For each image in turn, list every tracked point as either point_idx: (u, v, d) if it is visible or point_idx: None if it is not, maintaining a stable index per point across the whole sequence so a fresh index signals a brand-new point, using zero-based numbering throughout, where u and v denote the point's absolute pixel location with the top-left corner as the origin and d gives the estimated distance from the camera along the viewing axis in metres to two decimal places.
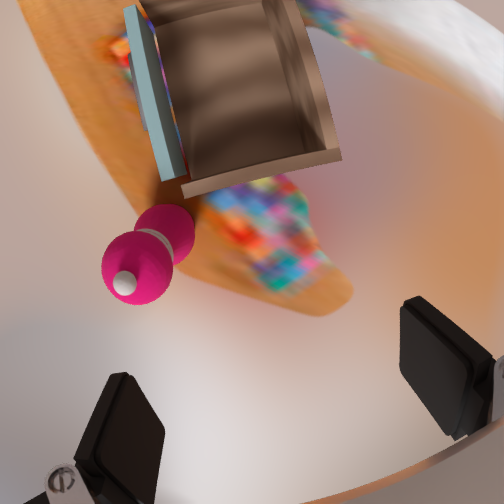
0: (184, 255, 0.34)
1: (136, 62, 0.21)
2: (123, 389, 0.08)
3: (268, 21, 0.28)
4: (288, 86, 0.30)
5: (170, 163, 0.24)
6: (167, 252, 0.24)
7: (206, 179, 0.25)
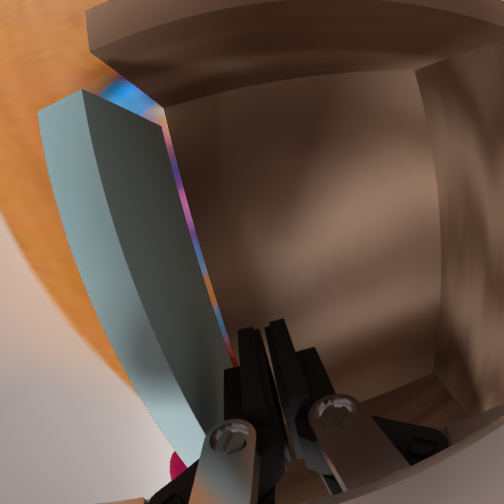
0: None
1: (141, 380, 0.07)
2: (260, 340, 0.09)
3: (431, 126, 0.13)
4: (444, 279, 0.15)
5: None
6: None
7: None
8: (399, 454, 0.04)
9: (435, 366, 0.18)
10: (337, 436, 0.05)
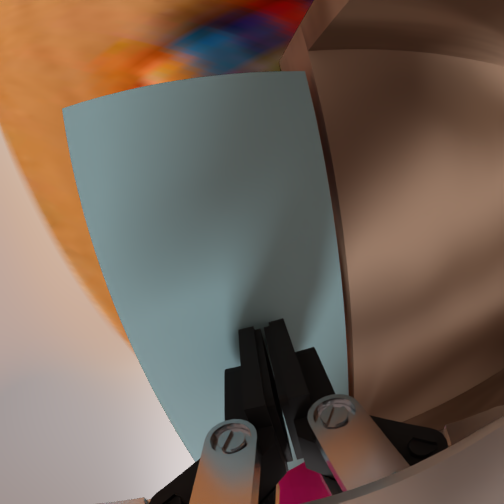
0: None
1: None
2: (261, 340, 0.09)
3: None
4: None
5: None
6: None
7: None
8: (398, 454, 0.04)
9: None
10: (336, 436, 0.05)
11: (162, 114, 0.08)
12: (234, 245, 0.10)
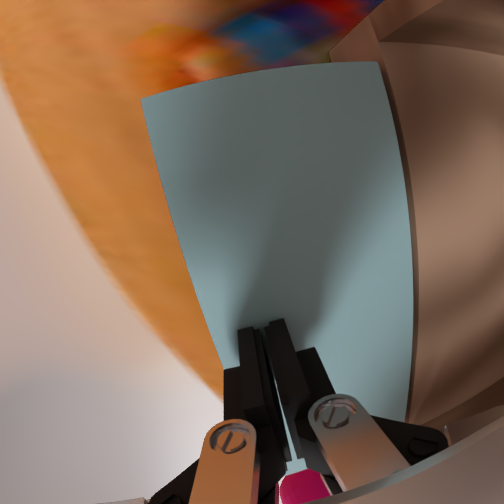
0: None
1: None
2: (260, 340, 0.09)
3: None
4: None
5: None
6: None
7: None
8: (399, 454, 0.04)
9: None
10: (337, 436, 0.05)
11: (240, 104, 0.08)
12: (311, 231, 0.10)
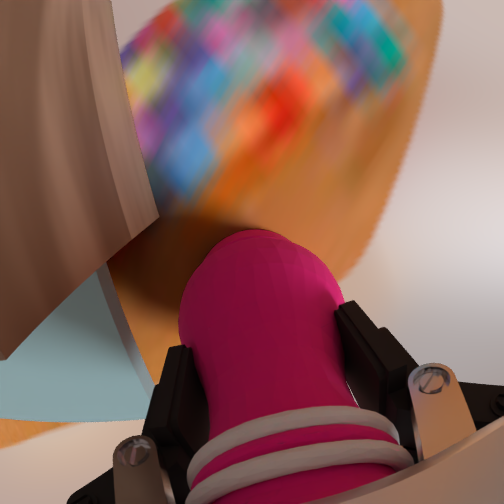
0: (321, 280, 0.11)
1: None
2: (186, 359, 0.09)
3: None
4: None
5: (136, 418, 0.13)
6: None
7: None
8: (474, 430, 0.04)
9: None
10: (428, 401, 0.05)
11: None
12: None
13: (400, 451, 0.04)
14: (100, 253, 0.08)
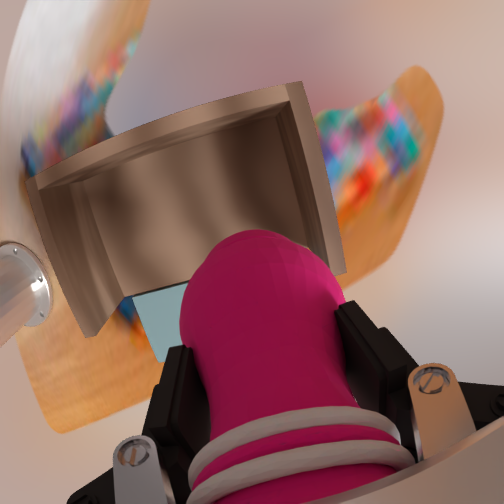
0: (322, 280, 0.11)
1: None
2: (186, 359, 0.09)
3: (107, 170, 0.26)
4: (192, 139, 0.26)
5: None
6: None
7: (327, 248, 0.21)
8: (474, 430, 0.04)
9: (267, 118, 0.26)
10: (428, 401, 0.05)
11: (157, 339, 0.31)
12: None
13: (401, 451, 0.04)
14: None
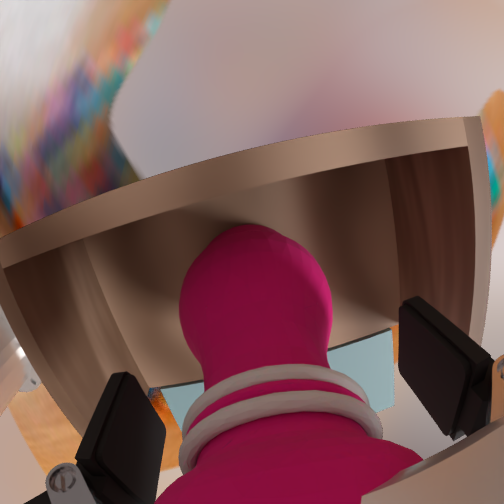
0: (307, 268, 0.12)
1: None
2: (124, 388, 0.08)
3: None
4: None
5: (381, 409, 0.22)
6: None
7: None
8: None
9: None
10: None
11: None
12: None
13: (365, 407, 0.06)
14: None
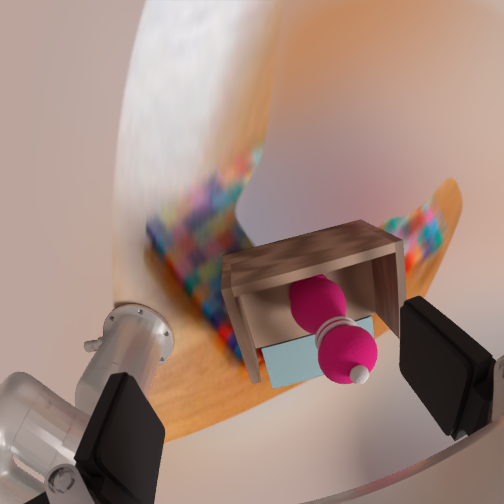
0: (338, 292, 0.36)
1: None
2: (123, 389, 0.08)
3: None
4: None
5: None
6: (340, 332, 0.27)
7: (399, 325, 0.37)
8: None
9: None
10: None
11: (275, 374, 0.46)
12: (300, 361, 0.46)
13: (356, 325, 0.30)
14: None
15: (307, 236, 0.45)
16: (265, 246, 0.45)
